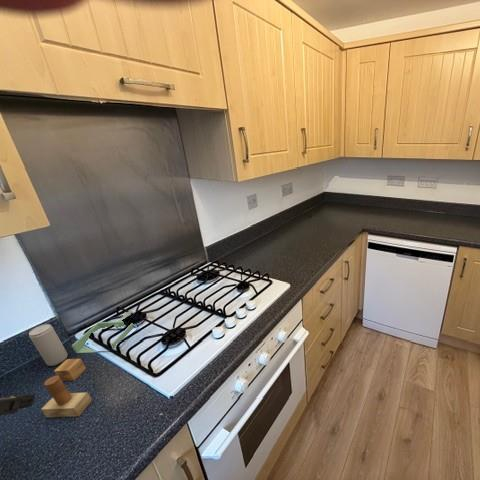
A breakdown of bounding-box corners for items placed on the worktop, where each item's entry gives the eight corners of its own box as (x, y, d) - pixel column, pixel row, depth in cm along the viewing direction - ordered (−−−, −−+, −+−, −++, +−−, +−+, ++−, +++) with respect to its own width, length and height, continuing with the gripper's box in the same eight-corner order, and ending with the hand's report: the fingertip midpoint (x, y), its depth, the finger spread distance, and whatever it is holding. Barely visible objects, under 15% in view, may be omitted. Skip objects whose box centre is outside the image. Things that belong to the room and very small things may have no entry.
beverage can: (60, 353, 81) (42, 323, 76) (73, 354, 80) (55, 324, 76) (43, 366, 77) (23, 335, 72) (56, 367, 76) (37, 336, 71)
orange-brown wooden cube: (60, 381, 72) (53, 371, 70) (72, 369, 75) (67, 359, 74) (74, 380, 71) (68, 370, 70) (86, 368, 75) (80, 358, 74)
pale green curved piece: (116, 351, 81) (112, 343, 79) (75, 353, 81) (71, 345, 80) (150, 314, 97) (147, 307, 95) (116, 316, 97) (113, 309, 96)
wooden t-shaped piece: (46, 417, 62) (25, 388, 58) (61, 401, 66) (43, 373, 62) (79, 416, 62) (60, 387, 58) (92, 400, 66) (76, 372, 62)
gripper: (-55, 391, 39) (52, 378, 54) (-147, 395, 39) (-14, 380, 54) (-83, 453, 36) (39, 421, 51) (-181, 456, 36) (-31, 423, 51)
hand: (11, 400), depth 52 cm, fingers open, 8 cm apart
